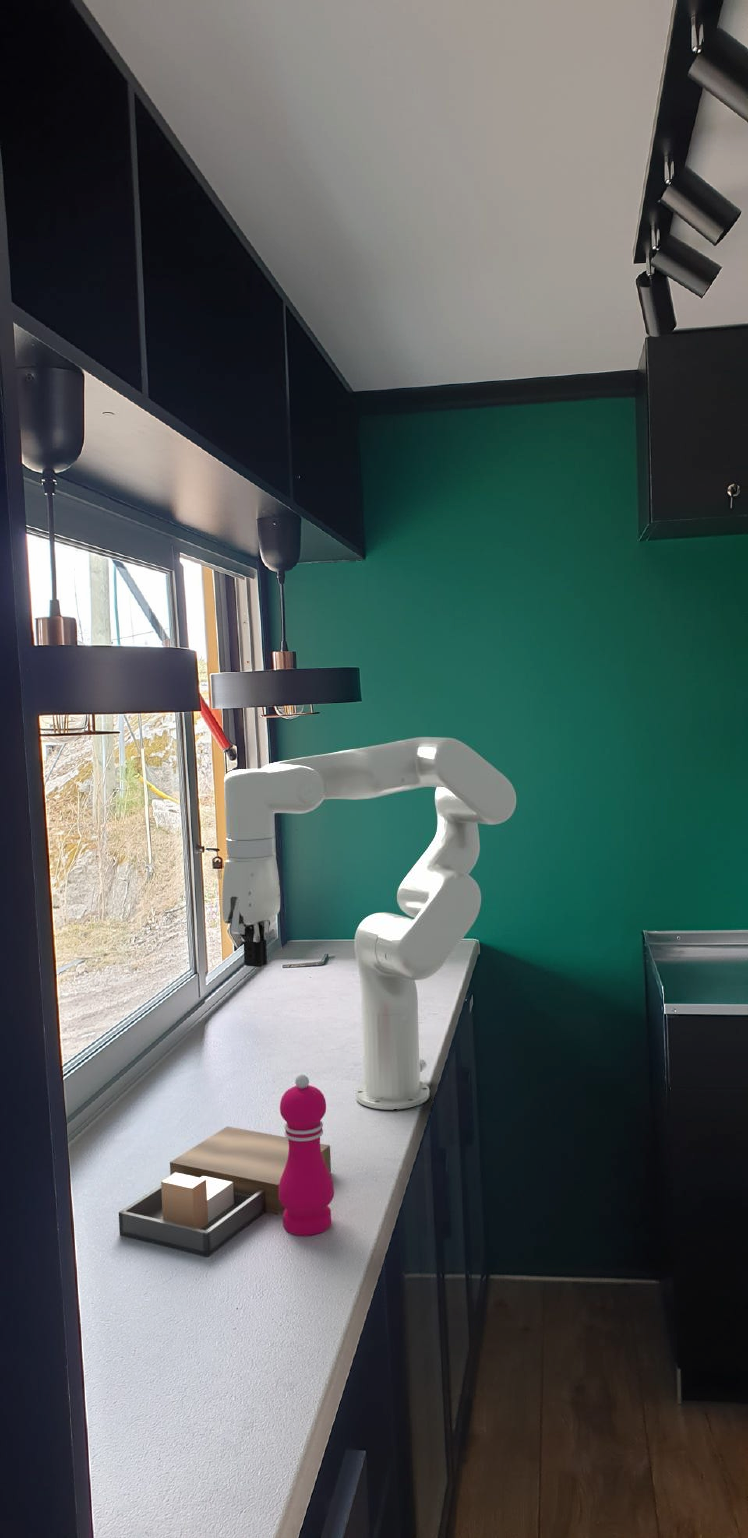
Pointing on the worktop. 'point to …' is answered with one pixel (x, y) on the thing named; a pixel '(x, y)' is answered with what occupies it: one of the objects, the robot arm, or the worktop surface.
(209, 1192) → the tile cream
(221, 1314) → the worktop surface
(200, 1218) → the tan rectangular block
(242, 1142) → the walnut block
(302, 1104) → the pepper mill
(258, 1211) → the bin
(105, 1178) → the worktop surface
